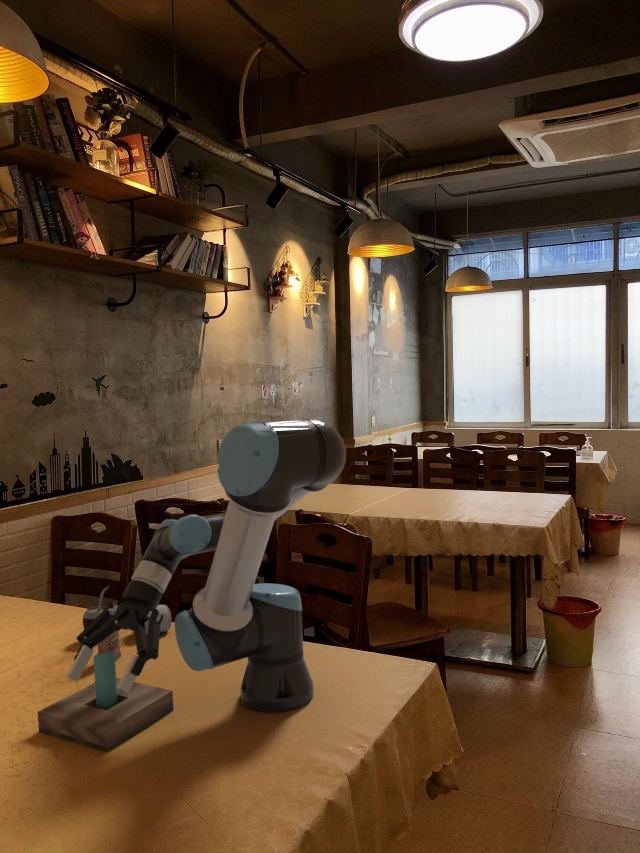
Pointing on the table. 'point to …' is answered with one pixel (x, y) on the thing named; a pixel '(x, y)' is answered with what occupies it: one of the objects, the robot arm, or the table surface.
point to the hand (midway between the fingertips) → (96, 684)
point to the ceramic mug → (166, 619)
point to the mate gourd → (93, 612)
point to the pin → (105, 680)
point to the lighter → (111, 645)
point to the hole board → (105, 716)
